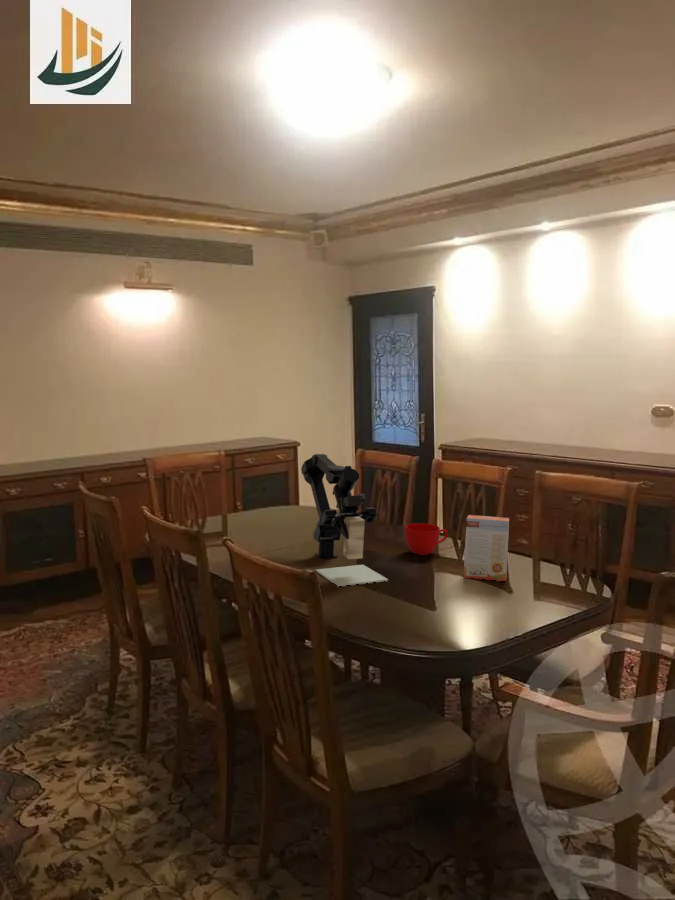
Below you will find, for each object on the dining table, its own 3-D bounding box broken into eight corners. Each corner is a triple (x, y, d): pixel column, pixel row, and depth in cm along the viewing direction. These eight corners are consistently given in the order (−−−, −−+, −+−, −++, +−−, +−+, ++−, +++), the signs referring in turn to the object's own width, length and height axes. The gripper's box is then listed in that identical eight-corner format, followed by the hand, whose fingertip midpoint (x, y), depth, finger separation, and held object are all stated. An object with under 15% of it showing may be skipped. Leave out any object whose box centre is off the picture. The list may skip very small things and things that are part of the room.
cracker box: (506, 577, 247) (510, 517, 244) (505, 582, 241) (509, 521, 238) (464, 573, 251) (468, 513, 248) (463, 578, 245) (466, 517, 242)
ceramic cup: (453, 556, 272) (455, 530, 270) (411, 558, 267) (413, 532, 266) (439, 547, 284) (440, 522, 283) (399, 549, 279) (400, 523, 278)
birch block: (343, 554, 244) (345, 517, 242) (357, 554, 246) (359, 516, 244) (348, 559, 239) (350, 520, 238) (362, 558, 241) (364, 520, 239)
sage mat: (315, 571, 248) (315, 569, 247) (362, 566, 255) (363, 564, 255) (338, 586, 231) (338, 585, 231) (387, 581, 239) (388, 579, 239)
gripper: (324, 486, 240) (335, 526, 231) (376, 484, 246) (389, 523, 238) (316, 504, 248) (326, 544, 239) (366, 502, 255) (378, 541, 246)
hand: (355, 538), depth 240 cm, fingers closed on birch block, 5 cm apart
